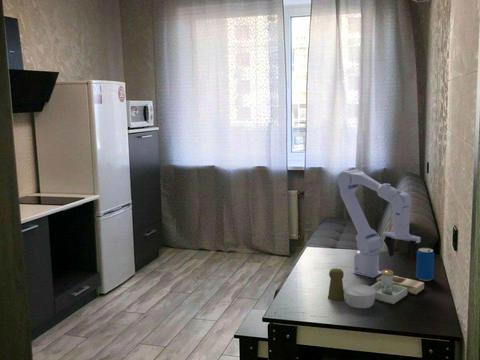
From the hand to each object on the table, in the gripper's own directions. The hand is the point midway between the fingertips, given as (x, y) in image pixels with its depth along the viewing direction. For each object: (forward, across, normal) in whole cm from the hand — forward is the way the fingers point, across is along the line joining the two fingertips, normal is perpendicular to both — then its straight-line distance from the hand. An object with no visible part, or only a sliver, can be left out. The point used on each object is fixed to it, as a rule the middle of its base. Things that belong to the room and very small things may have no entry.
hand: (400, 257), depth 201 cm
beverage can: (+10, +6, +10) cm, 16 cm away
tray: (+10, +2, -15) cm, 19 cm away
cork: (+10, -12, -29) cm, 33 cm away
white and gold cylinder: (+10, +2, -15) cm, 18 cm away
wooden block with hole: (+10, +2, -4) cm, 11 cm away
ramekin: (+11, -2, -28) cm, 30 cm away
